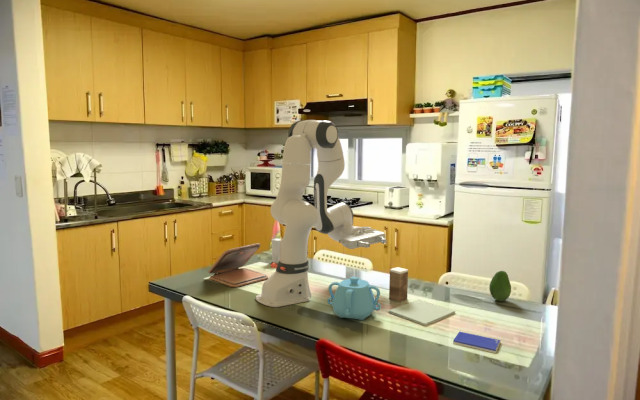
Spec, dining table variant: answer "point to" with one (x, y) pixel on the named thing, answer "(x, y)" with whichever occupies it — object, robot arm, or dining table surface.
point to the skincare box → (276, 250)
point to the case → (236, 267)
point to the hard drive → (477, 342)
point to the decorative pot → (353, 298)
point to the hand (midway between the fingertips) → (377, 243)
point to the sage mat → (422, 312)
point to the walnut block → (398, 284)
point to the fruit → (500, 286)
